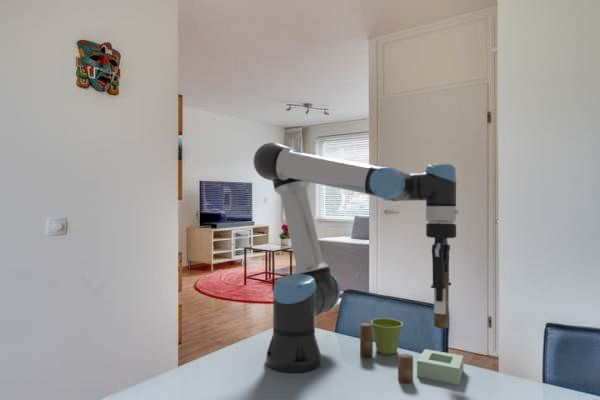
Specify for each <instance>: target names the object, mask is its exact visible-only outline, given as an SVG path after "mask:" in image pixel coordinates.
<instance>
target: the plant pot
mask: <svg viewBox="0 0 600 400" xmlns="http://www.w3.org/2000/svg"><path fill="white" fill-rule="evenodd" d="M370 324H372V325H373V336H374V341H375V349H376V352H379V353H380V354H382V355H389V356H390V355H393V354H397V352H398V347H399V345H398V344H399V340H400V334H401V330H402V327H403V325H404V324H403V322H402V321H400V320H397V319H394V318H386V317H385V318H374V319H372V320H371V321H370Z"/></svg>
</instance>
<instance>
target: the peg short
mask: <svg viewBox="0 0 600 400" xmlns="http://www.w3.org/2000/svg"><path fill="white" fill-rule="evenodd" d="M397 356H398V358H397V360H398V361H397V365H398V366H397V381H398V382H400V383H402V384H406V385H407V384H408V385H410V384H413V382H414V356H413V355H411V354H410V353H399V354H398V355H397Z"/></svg>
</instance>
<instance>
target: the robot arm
mask: <svg viewBox="0 0 600 400" xmlns="http://www.w3.org/2000/svg"><path fill="white" fill-rule="evenodd" d="M253 156H254V157H253V167H254V169H255V171H256V172H257V174H258V175H259V176H260V177H262V178H263V179H265V180H268V181H272V183H273V188H274V192H275V193H277V194H278V195H280V199H281V203H282V208H283V212H284V217H285V221H286V225H287V231H288V235H289V238H290V239H289V240H290V243H291V248H292V252H293V257H294V261H295V266H296V267H295V268H296V269H295V270H294V272H293V274H290V275H289V274H288V275H284V276H281V277H279V278H278V279H276V281H275V282H274V285H273V294H272V297H273V313H272V314H273V315H272V316H273V319H272V322H273V324H272V327H273V328H272V336H271V340H270V341H269V345H268V348H267V351H266V358H265V359H266V361H265V362H266V364H267V366H268V367H269V368H270V369H273V370H275V371H279V372H285V373H304V372H305V373H306V372H309V371H313V370H315V369H318V367H319V366H321V363H322V362H321V361H322V360H321V359H322V358H321V357H322V355H321V354H322V353H321V351H320V349H319V345H318V341H317V338H316V332H315V331H316V324H315V323H316V317H317V316H319V315H321V314H323V313H327V312H329V311H330V310H332V308H334V307H335V306H336V305H337V304H338V301H340V296H341V286H340V283H339V281H338V279H337V278H336V276H334V275H333V274H332V273H331V269H330V268H331V267H330V265H329V264H327V263H325V262H324V260H323V255H322V251H321V247H320V241H319V238H318V233H317V230H316V224H315V221H314V217H313V213H312V208H311V205H310V200H309V195H308V193H307V192H308V191H307V189H308V186H310V183H313V184H318V185H322V186H327V187H332V188H338V189H342V190H346V191H351V192H356V193H360V194H366V195H369V196H374V197H377V198H381V199H383V200H385V201H389V202H390V201H391V202H399V201H400V202H402V201H403V202H404V201H410V202H412V201H426V202H425V221H427V223H426V224H425V228H426V229H425V232H426V233H425V234H426V237H427V238H432V239H433V238H434V244H432V245H431V255H432V256H431V257H432V283H431V284H432V285H430V288H431V289H433V298H434V299H433V314H434V313H437V314H446V289H445V272H447V273H449V274H450V251H451V245H450V244H448V239H455V238H457V224H456V223H454V222H456V221H457V215H458V214H459V210H458V209H457V176H456V175H457V174H456V167H455V166H454V165H453V164H450V163H449V164H448V163H435V164H428V165H426V168H425V171H424V172H419V173H417V172H416V173H405V172H403V171H400V170H398V169H396V168H395V167H394V168H393V167H390V166H377V165H376V166H375V165H371V164H366V163H361V162H355V161H348V160H343V159H337V158H330V157H325V156H320V155H313V154H309V153H304V152H303V151H301V150H300V149H298V148H296V147H291V146H290V147H289V146H287V145H284V144H281V143H277V142H268V143H265V144H263V145H262V144H261V146H260V147H258V149H256V151H255V153H254V155H253ZM451 285H452V282H450V281H449V287H450V286H451Z"/></svg>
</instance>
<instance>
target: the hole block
mask: <svg viewBox="0 0 600 400" xmlns="http://www.w3.org/2000/svg"><path fill="white" fill-rule="evenodd" d="M463 373H464V355H461V354H455V353H449V352H446V351H445V352H444V351H439V350H434V349H433V350H432V349H427V348H425V349H424V350H423V351H422V352H421V354H420V356H419V357H418V359H417V360H416V377H418V378H423V379H426V380H427V379H428V380H433V381H437V382H442V383H446V384H452V385H456V386H459V385H460V382H461V380H462V378H463V377H462V376H463Z"/></svg>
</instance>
